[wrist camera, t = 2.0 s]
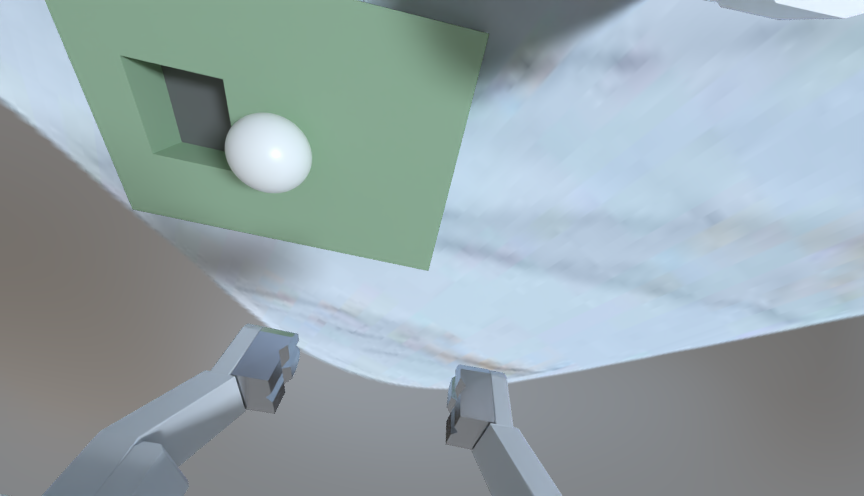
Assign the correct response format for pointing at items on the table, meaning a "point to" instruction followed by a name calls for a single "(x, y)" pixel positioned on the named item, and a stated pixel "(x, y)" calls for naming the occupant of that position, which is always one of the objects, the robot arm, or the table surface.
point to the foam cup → (796, 8)
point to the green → (281, 112)
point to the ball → (268, 152)
